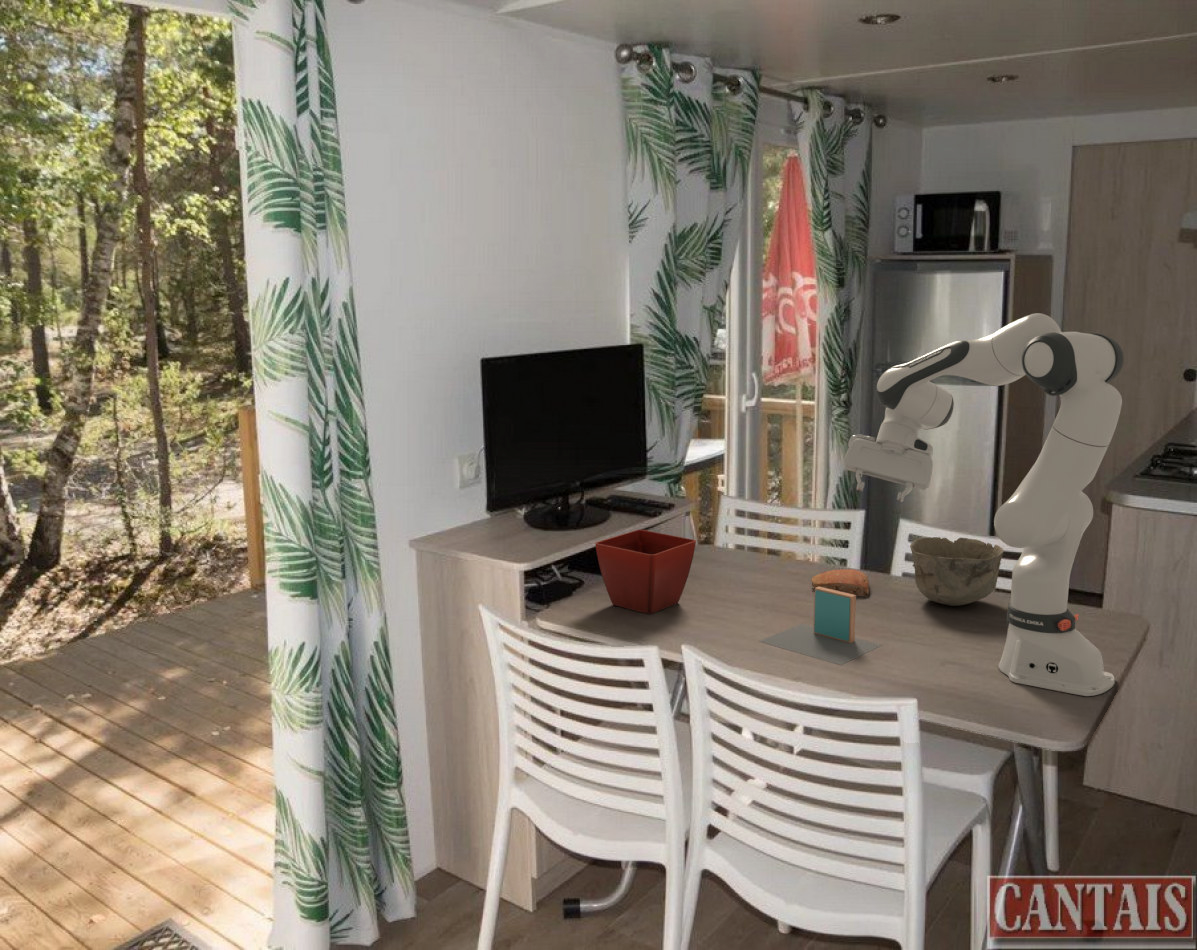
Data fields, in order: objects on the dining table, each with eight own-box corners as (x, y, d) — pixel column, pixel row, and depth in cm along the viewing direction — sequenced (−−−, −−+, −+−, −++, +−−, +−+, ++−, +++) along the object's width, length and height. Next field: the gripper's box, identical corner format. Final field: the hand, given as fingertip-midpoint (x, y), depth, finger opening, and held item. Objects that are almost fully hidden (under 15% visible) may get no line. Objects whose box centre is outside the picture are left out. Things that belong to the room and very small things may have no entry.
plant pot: (697, 602, 278) (698, 539, 275) (653, 621, 264) (652, 554, 261) (639, 589, 290) (639, 528, 287) (594, 606, 276) (593, 543, 273)
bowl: (1016, 605, 271) (1020, 548, 268) (962, 622, 259) (965, 562, 256) (944, 585, 289) (947, 531, 286) (890, 600, 277) (892, 544, 274)
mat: (882, 647, 243) (882, 645, 243) (840, 667, 232) (840, 664, 231) (801, 625, 259) (801, 623, 259) (758, 643, 247) (758, 641, 247)
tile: (854, 641, 246) (856, 595, 244) (849, 643, 245) (851, 597, 243) (817, 631, 253) (818, 586, 251) (812, 633, 252) (813, 588, 250)
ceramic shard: (813, 561, 297) (868, 571, 294) (809, 584, 297) (864, 594, 295) (814, 568, 282) (872, 579, 280) (810, 592, 283) (867, 603, 280)
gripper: (852, 426, 254) (835, 478, 249) (939, 448, 247) (924, 501, 243) (851, 437, 259) (835, 488, 255) (937, 459, 253) (921, 511, 249)
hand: (879, 495), depth 249 cm, fingers open, 8 cm apart
